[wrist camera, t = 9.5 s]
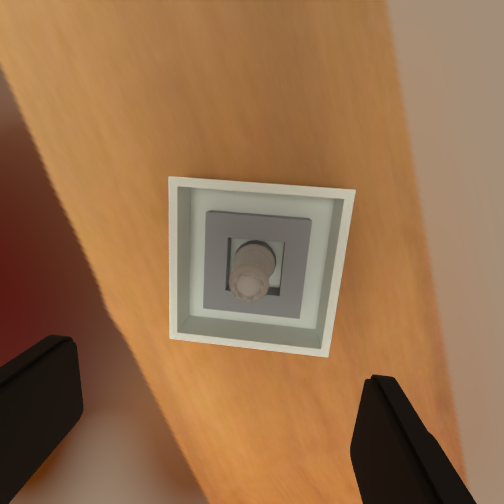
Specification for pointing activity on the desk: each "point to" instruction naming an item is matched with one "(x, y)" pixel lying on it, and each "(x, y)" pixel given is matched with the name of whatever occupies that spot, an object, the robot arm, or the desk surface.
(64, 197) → the desk surface
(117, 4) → the desk surface
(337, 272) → the box
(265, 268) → the rook chess piece
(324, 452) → the desk surface
